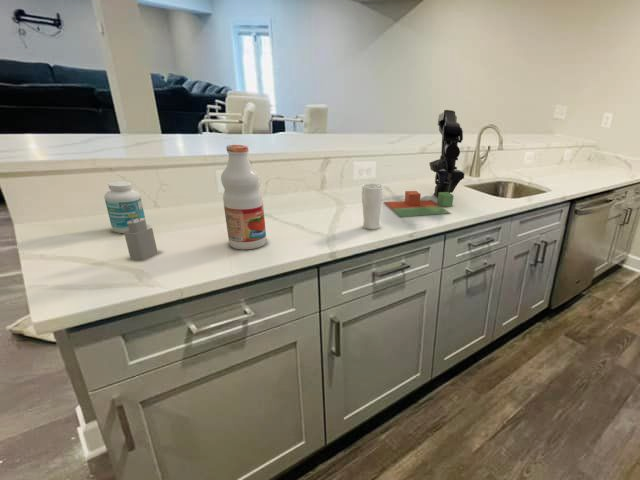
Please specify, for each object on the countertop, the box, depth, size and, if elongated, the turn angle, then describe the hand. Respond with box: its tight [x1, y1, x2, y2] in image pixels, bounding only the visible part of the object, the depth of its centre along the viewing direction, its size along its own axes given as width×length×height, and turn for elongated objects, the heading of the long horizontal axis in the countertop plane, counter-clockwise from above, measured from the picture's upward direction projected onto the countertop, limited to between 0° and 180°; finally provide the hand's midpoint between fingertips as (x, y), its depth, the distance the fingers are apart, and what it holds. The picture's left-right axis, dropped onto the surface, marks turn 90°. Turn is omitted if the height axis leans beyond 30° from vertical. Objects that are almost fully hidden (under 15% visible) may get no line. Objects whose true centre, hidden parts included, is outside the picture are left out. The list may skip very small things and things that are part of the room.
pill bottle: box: [104, 181, 147, 234], centre depth 107 cm, size 8×7×14 cm
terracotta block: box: [404, 190, 422, 206], centre depth 164 cm, size 5×5×5 cm
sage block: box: [437, 192, 454, 207], centre depth 171 cm, size 5×5×5 cm
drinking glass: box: [361, 183, 383, 230], centre depth 133 cm, size 7×7×15 cm
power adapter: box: [123, 210, 159, 262], centre depth 95 cm, size 3×5×12 cm, turn 177°
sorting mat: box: [384, 199, 451, 218], centre depth 162 cm, size 22×18×1 cm
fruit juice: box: [220, 144, 267, 250], centre depth 106 cm, size 9×9×28 cm
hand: (446, 189), depth 169 cm, fingers open, 9 cm apart
